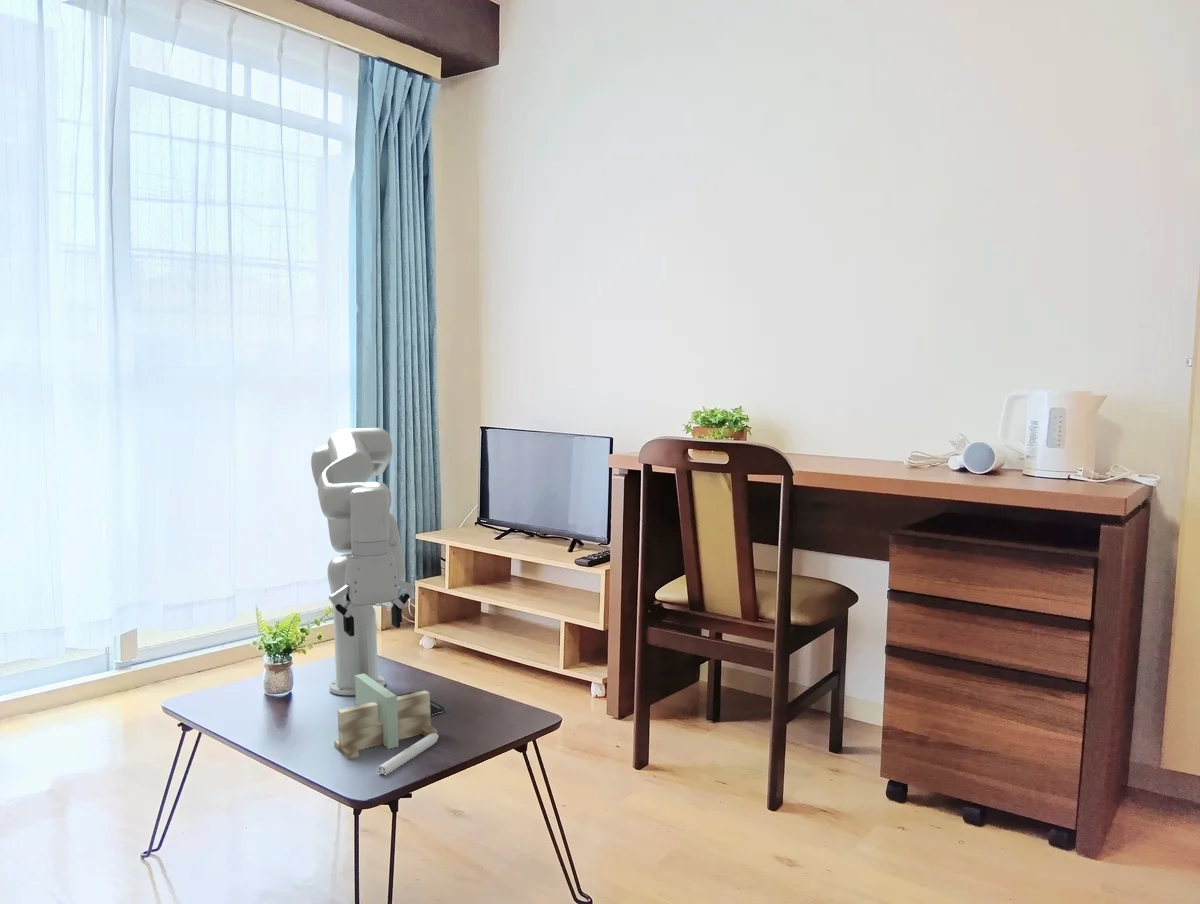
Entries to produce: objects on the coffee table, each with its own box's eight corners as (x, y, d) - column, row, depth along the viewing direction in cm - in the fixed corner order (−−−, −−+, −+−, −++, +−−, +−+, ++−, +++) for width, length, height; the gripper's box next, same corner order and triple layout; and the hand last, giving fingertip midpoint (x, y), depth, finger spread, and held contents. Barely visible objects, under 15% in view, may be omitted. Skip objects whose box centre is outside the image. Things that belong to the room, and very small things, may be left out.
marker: (433, 739, 172) (433, 728, 172) (442, 741, 171) (442, 729, 171) (377, 776, 155) (376, 763, 155) (386, 778, 155) (386, 765, 154)
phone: (414, 691, 198) (445, 708, 186) (414, 696, 198) (445, 713, 186) (382, 699, 193) (411, 717, 182) (382, 704, 194) (411, 722, 182)
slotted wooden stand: (348, 759, 162) (346, 717, 162) (334, 746, 169) (332, 705, 168) (437, 736, 173) (435, 696, 172) (421, 724, 179) (419, 686, 179)
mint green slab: (398, 746, 168) (396, 695, 167) (388, 749, 167) (386, 698, 166) (365, 720, 183) (364, 673, 182) (356, 722, 181) (354, 675, 181)
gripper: (404, 540, 184) (406, 619, 186) (322, 550, 174) (325, 633, 176) (418, 545, 178) (420, 627, 179) (333, 556, 168) (337, 643, 170)
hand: (373, 630), depth 178 cm, fingers open, 9 cm apart
